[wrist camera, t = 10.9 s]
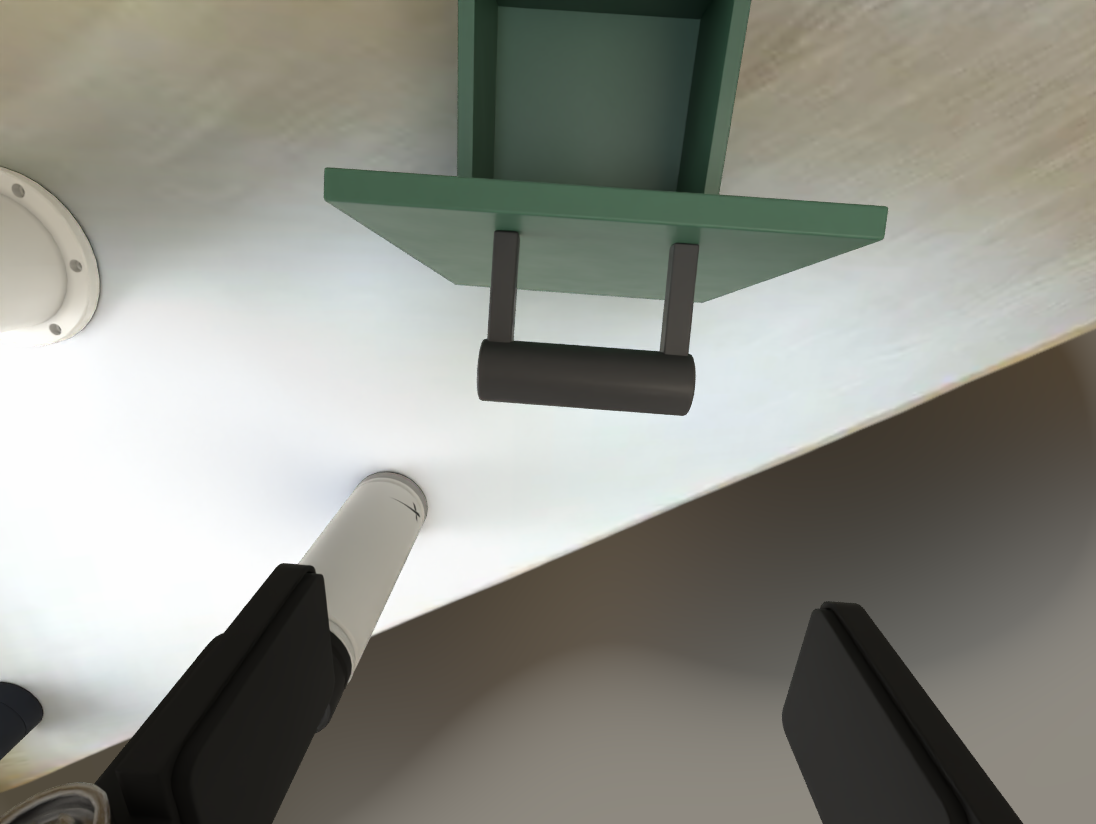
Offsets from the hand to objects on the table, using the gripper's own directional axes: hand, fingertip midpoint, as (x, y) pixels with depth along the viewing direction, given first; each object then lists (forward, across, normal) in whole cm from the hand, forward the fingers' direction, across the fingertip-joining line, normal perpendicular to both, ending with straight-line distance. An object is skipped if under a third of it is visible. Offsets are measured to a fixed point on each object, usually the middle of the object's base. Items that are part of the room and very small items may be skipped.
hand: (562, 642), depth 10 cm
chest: (+31, -1, -12) cm, 33 cm away
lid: (+14, 0, -6) cm, 15 cm away
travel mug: (+31, +13, +16) cm, 38 cm away
